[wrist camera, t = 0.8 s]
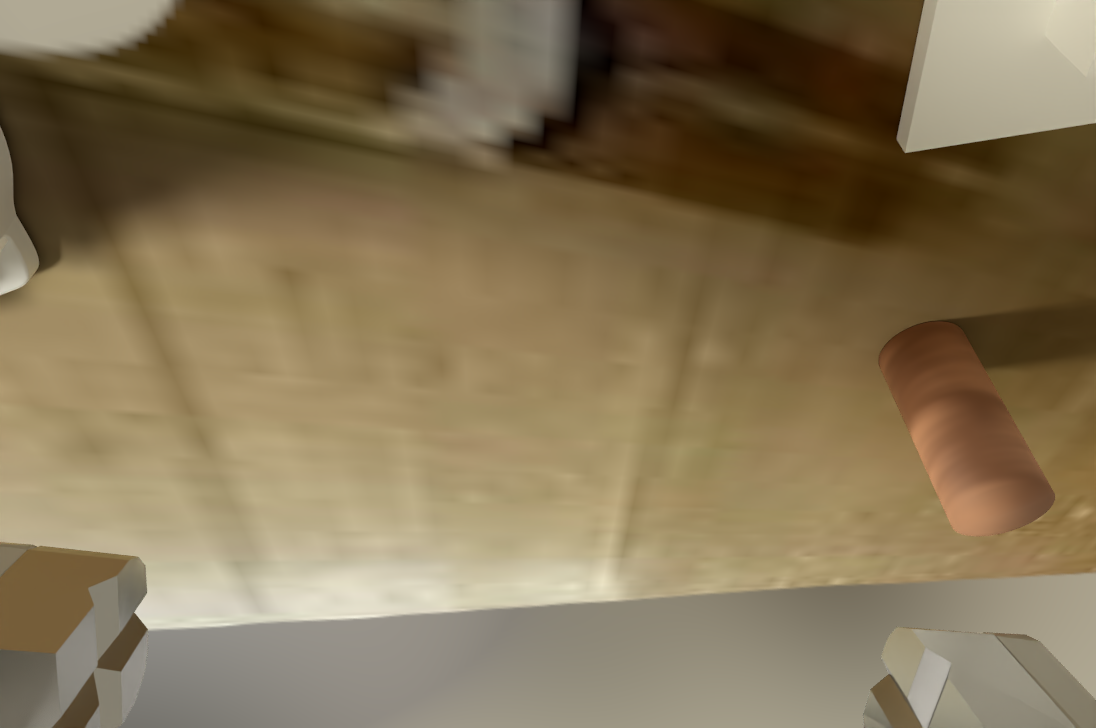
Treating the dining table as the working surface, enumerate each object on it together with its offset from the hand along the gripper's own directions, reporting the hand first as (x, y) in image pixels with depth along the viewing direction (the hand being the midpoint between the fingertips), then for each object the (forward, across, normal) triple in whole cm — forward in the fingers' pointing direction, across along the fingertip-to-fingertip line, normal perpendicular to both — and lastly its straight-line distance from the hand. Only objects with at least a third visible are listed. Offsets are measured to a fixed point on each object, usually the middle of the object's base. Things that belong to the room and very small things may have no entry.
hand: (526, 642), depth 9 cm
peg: (+33, +23, -5) cm, 41 cm away
